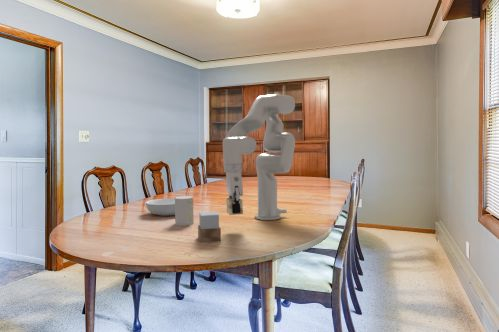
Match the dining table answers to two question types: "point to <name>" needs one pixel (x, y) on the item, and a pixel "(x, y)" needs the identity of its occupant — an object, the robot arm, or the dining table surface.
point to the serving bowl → (161, 206)
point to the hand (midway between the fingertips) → (234, 210)
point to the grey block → (209, 220)
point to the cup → (184, 210)
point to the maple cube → (229, 206)
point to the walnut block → (209, 235)
